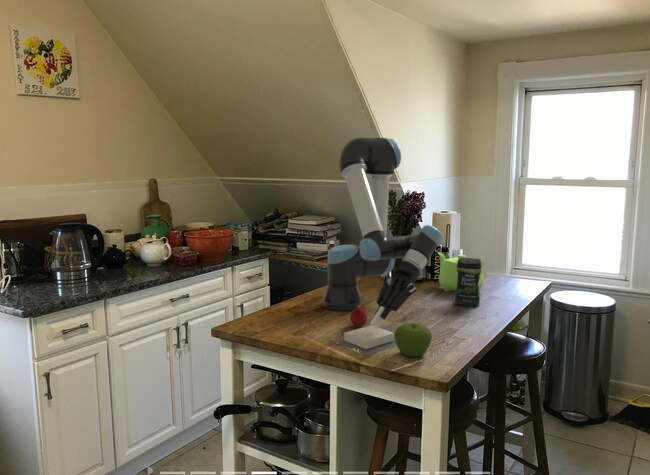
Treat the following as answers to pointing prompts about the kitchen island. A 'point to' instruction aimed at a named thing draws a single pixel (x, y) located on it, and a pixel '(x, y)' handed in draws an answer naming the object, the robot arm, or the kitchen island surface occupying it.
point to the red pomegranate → (358, 317)
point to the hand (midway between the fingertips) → (374, 325)
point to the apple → (413, 339)
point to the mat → (370, 350)
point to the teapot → (452, 273)
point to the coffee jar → (468, 282)
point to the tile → (368, 337)
